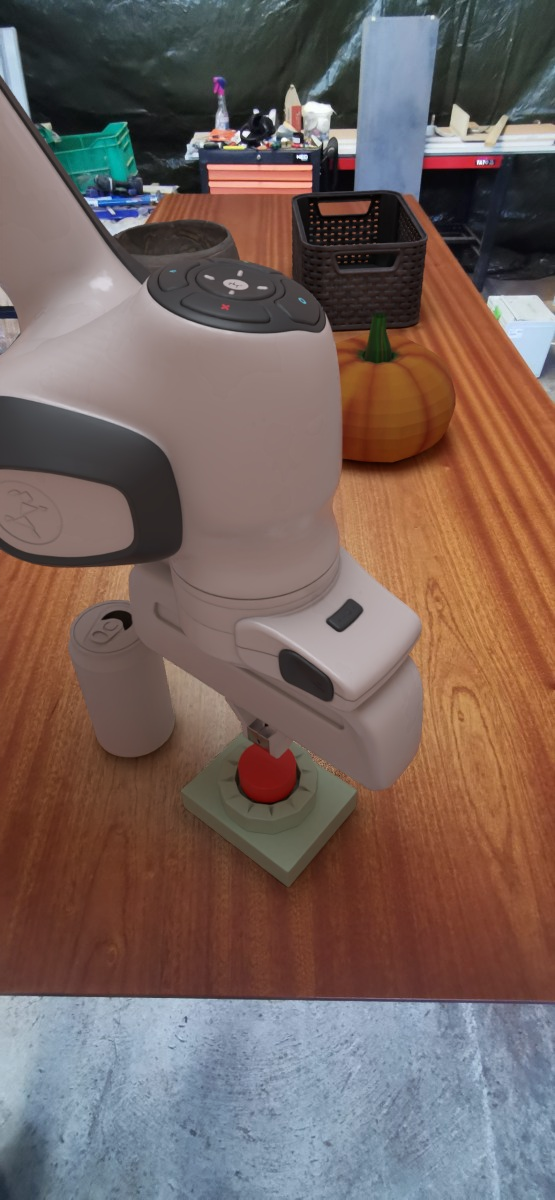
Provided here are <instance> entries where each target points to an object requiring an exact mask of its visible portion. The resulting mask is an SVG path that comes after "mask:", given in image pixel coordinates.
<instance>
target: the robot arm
mask: <svg viewBox="0 0 555 1200" xmlns="http://www.w3.org/2000/svg"><path fill="white" fill-rule="evenodd" d="M0 288H1V290H2V291H3V292H4V293H5V294H6V296H7V297H8V299H9V300H10V302H11V304H12V306H13V308H14V311H15V313H16V316H17V320H18V325H19V331H20V333H19V336H18V337H17V338H16V339H15V340H14V342H13V343H12V344H11V345H10V346H9V347H8V348H7V349H6V350H5V351H3V352H2V353H1V354H0V551H2V552H3V553H5V554H6V555H9V556H11V557H12V558H15V559H17V560H20V561H23V562H25V563H29V564H31V565H36V566H42V567H48V568H61V569H72V568H73V569H76V568H78V569H79V568H101V567H102V568H104V567H105V568H106V567H120V566H131V565H133V567H132V568H131V569H130V572H129V575H128V598H129V601H130V608H131V615H132V622H133V626H134V629H135V631H136V633H137V635H138V636H139V638H140V639H141V641H142V642H143V643H144V645H145V646H147V647H148V648H149V649H151V650H153V651H154V652H156V653H157V654H159V655H161V656H162V657H163V659H165V660H167V661H169V662H170V663H171V664H173V665H174V666H176V667H178V668H179V669H181V670H182V671H183V672H185V673H187V674H188V675H190V676H192V677H193V678H195V679H196V680H198V681H199V682H201V683H202V684H204V685H206V686H207V687H208V688H210V689H212V690H213V691H215V692H217V693H218V694H219V695H221V696H223V697H224V700H225V701H226V704H227V705H228V706H229V708H230V709H231V711H232V712H233V714H234V716H235V718H236V719H237V720H238V722H239V723H240V724H241V725H240V727H241V732H242V735H243V737H245V738H246V739H248V740H249V741H251V742H253V743H254V744H256V745H257V746H259V747H260V748H262V749H263V750H265V751H266V752H268V753H269V754H270V755H272V756H273V757H275V758H279V757H280V756H281V755H282V754H283V753H284V752H285V751H286V750H287V749H288V748H289V747H290V745H291V743H292V741H293V742H295V743H296V744H298V745H299V746H301V747H303V748H304V749H306V750H307V751H308V752H309V753H311V754H313V755H314V756H316V757H317V758H319V759H321V760H323V761H324V762H325V763H327V764H328V765H329V766H332V767H333V768H335V769H336V770H338V771H340V772H341V773H342V774H344V775H346V777H348V778H350V779H352V780H353V781H355V782H356V783H358V784H359V785H361V786H362V787H364V788H366V789H367V790H369V791H372V792H380V791H384V790H387V789H389V788H391V787H392V786H393V785H394V784H395V783H396V782H397V781H398V780H399V779H400V777H401V776H402V775H403V774H404V773H405V772H406V770H407V769H408V767H409V766H410V765H411V763H412V762H413V760H414V759H415V758H416V756H417V754H418V752H419V749H420V744H421V740H422V733H423V724H424V723H423V721H424V687H423V686H424V685H423V680H422V676H421V673H420V670H419V668H418V666H417V663H416V662H415V661H414V659H413V658H412V657H411V655H410V654H411V652H412V651H413V650H414V648H415V647H416V645H417V644H418V642H419V640H420V638H421V635H422V632H423V631H422V629H423V625H422V619H421V618H420V616H419V615H418V613H417V612H416V611H415V610H413V608H412V607H410V606H409V605H407V604H406V603H405V602H404V601H402V600H401V599H399V597H397V596H396V595H395V594H393V592H391V591H390V590H389V589H387V587H385V586H384V585H383V584H381V583H380V582H379V581H378V580H377V579H376V578H375V577H374V576H372V575H371V574H370V573H369V572H368V571H367V570H366V569H365V568H364V567H363V566H362V565H361V564H360V563H359V562H358V561H357V560H356V559H355V558H354V556H353V555H352V554H350V552H349V551H348V550H347V549H346V548H345V547H343V546H342V545H340V544H341V543H340V541H341V539H340V529H339V524H338V521H337V518H336V515H335V512H334V498H335V495H336V492H337V491H338V488H339V484H340V481H341V476H342V468H343V458H342V399H341V384H340V373H339V363H338V356H337V349H336V341H335V336H334V333H333V332H334V331H332V329H331V326H330V323H329V321H328V318H327V316H326V314H325V312H324V310H323V308H322V306H321V305H320V304H319V302H318V301H317V300H316V298H315V297H314V296H313V295H312V294H311V293H310V292H309V291H308V290H307V289H305V288H304V287H303V286H302V285H300V284H298V283H297V282H295V281H294V280H293V278H290V277H288V276H287V275H285V274H284V273H283V272H282V271H279V270H276V269H274V268H272V267H269V266H267V265H263V264H259V263H256V262H251V261H246V260H241V259H240V260H236V259H228V258H206V259H195V260H184V261H179V262H175V263H171V264H168V265H165V266H163V267H161V268H159V269H157V270H156V271H155V272H153V273H151V272H150V271H149V270H148V269H146V268H145V267H144V266H143V265H142V264H141V263H139V262H138V261H137V260H136V259H135V258H134V257H132V256H131V255H130V254H129V253H128V252H127V251H126V250H125V249H124V248H123V247H122V246H121V245H120V244H119V243H118V242H117V241H116V239H115V238H114V237H113V235H112V234H111V232H110V231H109V230H108V229H107V228H106V226H105V224H104V223H103V222H102V221H101V219H100V218H99V217H98V215H97V213H96V212H95V211H94V210H93V208H92V206H91V205H90V203H89V202H88V201H87V199H86V198H85V197H84V195H83V194H82V192H81V190H80V189H79V188H78V186H77V185H76V183H75V182H74V180H73V179H72V177H71V176H70V174H69V173H68V171H67V169H66V168H65V167H64V166H63V164H62V163H61V161H60V160H59V158H58V157H57V156H56V154H55V153H54V151H53V150H52V148H51V147H50V145H49V144H48V142H47V141H46V139H45V138H44V136H43V135H42V133H41V132H40V130H39V129H38V128H37V126H36V125H35V123H34V122H33V120H32V119H31V117H30V116H29V115H28V113H27V111H26V109H24V107H23V106H22V104H21V103H20V101H19V100H18V98H17V97H16V95H15V94H14V92H13V91H12V90H11V88H10V87H9V85H8V84H7V82H6V81H5V79H4V78H3V77H2V75H1V74H0Z"/></svg>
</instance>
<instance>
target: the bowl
mask: <svg viewBox="0 0 555 1200" xmlns="http://www.w3.org/2000/svg"><path fill="white" fill-rule="evenodd" d="M112 236H113V237H114V238H115V239H116V241H117V242H118V243H119V244H120V245H121V246H122V247H123V248H124V249H125V250H126V251H127V252H128V253H129V254H130V255H131V256H132V257H134V258H135V259H136V260H137V261H138V262H139V263H141V264H142V265H143V266H144V267H145V268H146V269H148V270H149V271H150V272H151V273H153V272H155V271H156V270H157V269H159V268H161V267H163V266H165V265H168V264H171V263H175V262H179V261H184V260H195V259H206V258H228V259H236V260H241V258H240V254H239V251H238V248H237V245H236V242H235V240H234V238H233V235H232V233H231V231H230V230H229V229H228V228H227V227H226V226H225V225H224V224H222V223H219V222H216V221H212V220H207V219H196V218H187V219H185V218H184V219H175V220H166V221H157V222H156V221H155V222H148V223H144V224H143V223H142V224H139V225H135V226H132V227H128V228H126V229H124V230H120V231H119V232H118V233H114V234H113V235H112Z"/></svg>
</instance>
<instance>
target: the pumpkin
mask: <svg viewBox="0 0 555 1200" xmlns="http://www.w3.org/2000/svg"><path fill="white" fill-rule="evenodd" d="M335 344H336V349H337V356H338V363H339V373H340V384H341V399H342V460H344V459H345V460H352V461H359V462H369V463H394V462H398V461H402V460H404V459H408V458H411V457H414V456H417V455H418V454H421V453H422V452H425V451H427V450H428V449H431V448H432V447H433V446H434V445H436V444H437V443H438V442H439V441H440V440H441V439H442V438H443V436H444V435H445V433H446V432H447V430H448V427H449V426H450V423H451V420H452V417H453V415H454V411H455V408H456V403H457V400H456V399H457V398H456V397H457V396H456V389H455V386H454V383H453V382H454V381H453V378H452V374H451V371H450V368H449V367H448V365H447V364H446V362H445V361H444V360H443V359H442V358H441V357H440V356H439V355H438V354H436V353H435V352H434V351H432V350H430V349H429V348H427V347H425V346H423V345H422V344H420V343H417V342H416V341H415V342H414V340H411V339H408V338H407V337H404V336H402V335H398V334H397V335H396V334H395V335H394V334H388V332H387V328H386V315H385V314H383V313H376V314H374V315H373V318H372V323H371V328H370V329H369V333H364V334H361V335H357V336H354V337H351V338H347V339H344V340H342V341H338V342H335Z"/></svg>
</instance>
